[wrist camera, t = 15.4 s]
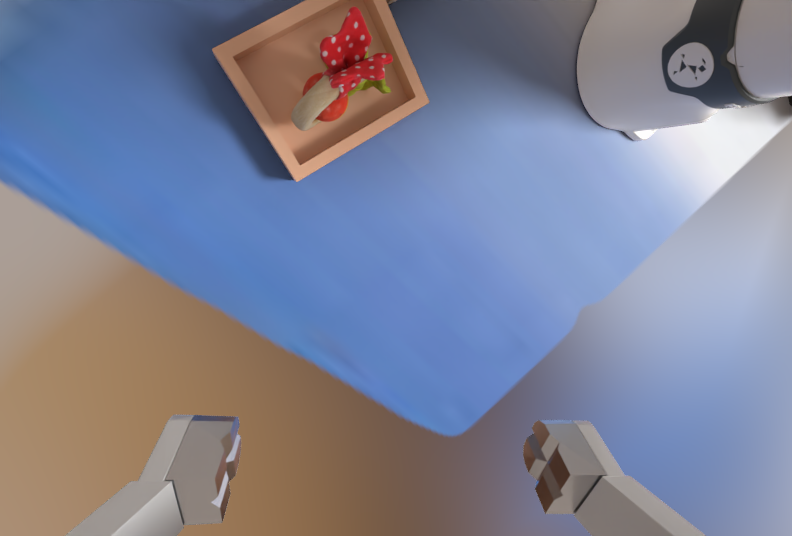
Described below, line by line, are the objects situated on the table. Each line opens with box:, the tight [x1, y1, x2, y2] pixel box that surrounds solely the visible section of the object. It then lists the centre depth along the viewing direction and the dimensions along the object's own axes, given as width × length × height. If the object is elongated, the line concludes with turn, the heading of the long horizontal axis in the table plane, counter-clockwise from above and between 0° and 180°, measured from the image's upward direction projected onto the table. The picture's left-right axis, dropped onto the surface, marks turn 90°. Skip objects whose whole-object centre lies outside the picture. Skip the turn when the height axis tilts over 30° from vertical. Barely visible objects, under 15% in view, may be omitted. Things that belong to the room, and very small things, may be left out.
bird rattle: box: [291, 6, 393, 131], centre depth 28 cm, size 6×11×9 cm
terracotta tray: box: [212, 0, 430, 182], centre depth 32 cm, size 14×11×2 cm
